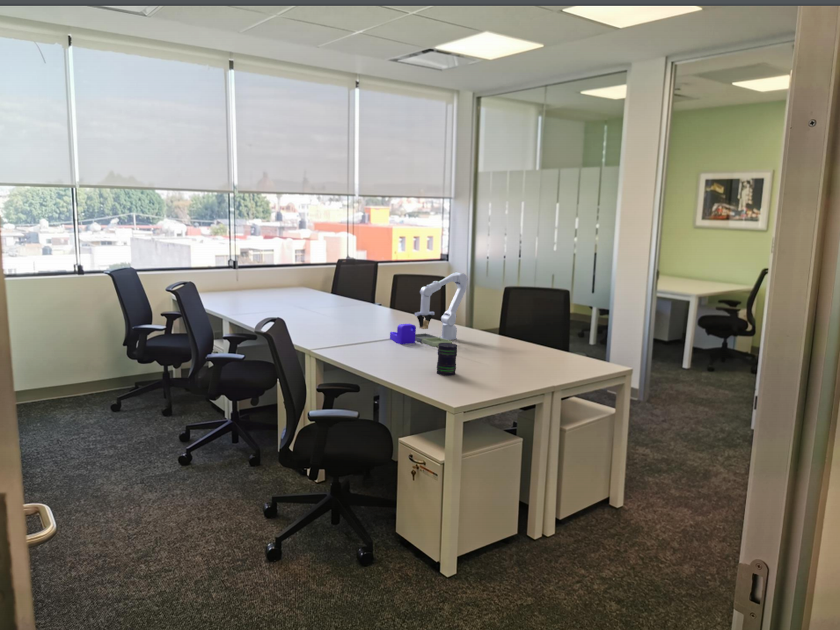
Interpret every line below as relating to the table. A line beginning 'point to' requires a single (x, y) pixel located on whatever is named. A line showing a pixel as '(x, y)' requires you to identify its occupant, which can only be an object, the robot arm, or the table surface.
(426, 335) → the charcoal bin
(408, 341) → the bracket
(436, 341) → the olive bin
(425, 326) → the oak block
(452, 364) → the storage jar
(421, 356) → the table surface
